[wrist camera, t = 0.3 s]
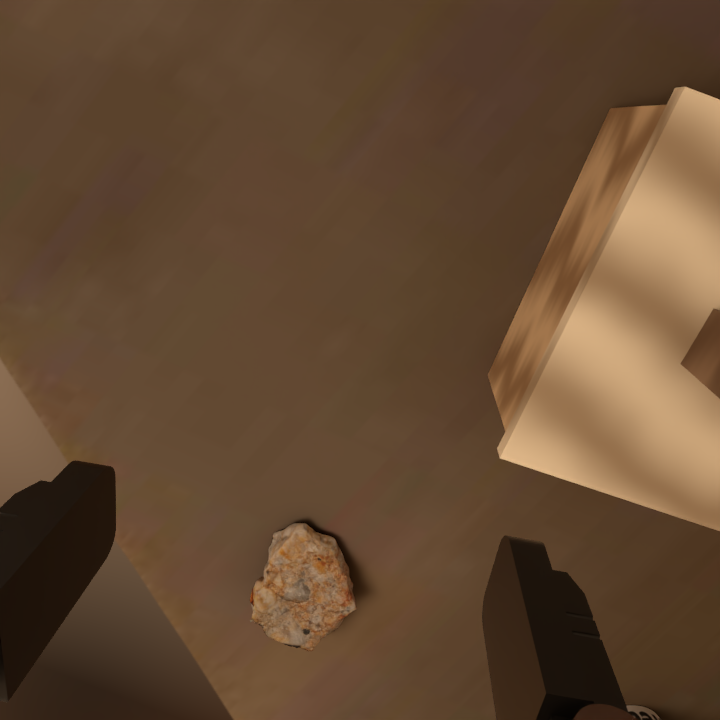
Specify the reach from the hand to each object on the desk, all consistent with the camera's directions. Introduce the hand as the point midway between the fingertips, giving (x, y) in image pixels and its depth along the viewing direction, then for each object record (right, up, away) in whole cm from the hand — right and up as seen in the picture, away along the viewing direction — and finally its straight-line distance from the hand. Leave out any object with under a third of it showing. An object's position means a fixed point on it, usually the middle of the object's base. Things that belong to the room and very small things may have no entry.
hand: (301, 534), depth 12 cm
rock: (-3, -14, +37) cm, 40 cm away
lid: (+19, +5, +17) cm, 26 cm away
